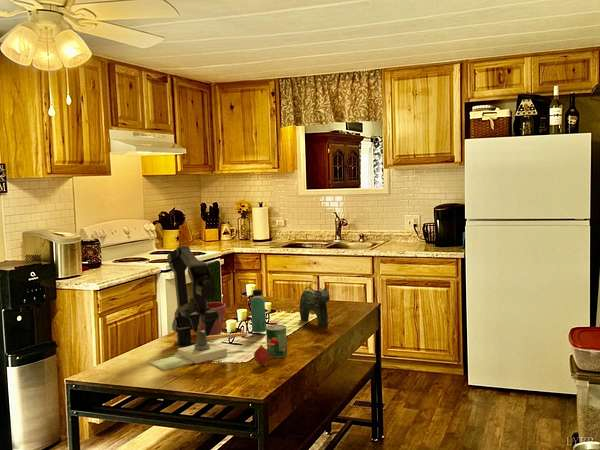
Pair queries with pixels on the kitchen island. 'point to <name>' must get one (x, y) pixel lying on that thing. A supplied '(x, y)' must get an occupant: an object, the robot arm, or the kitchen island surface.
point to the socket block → (202, 353)
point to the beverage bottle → (258, 312)
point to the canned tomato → (276, 340)
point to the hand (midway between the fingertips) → (201, 333)
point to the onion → (261, 356)
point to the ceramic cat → (315, 304)
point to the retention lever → (227, 335)
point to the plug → (201, 341)
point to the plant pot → (219, 322)
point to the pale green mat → (170, 362)
